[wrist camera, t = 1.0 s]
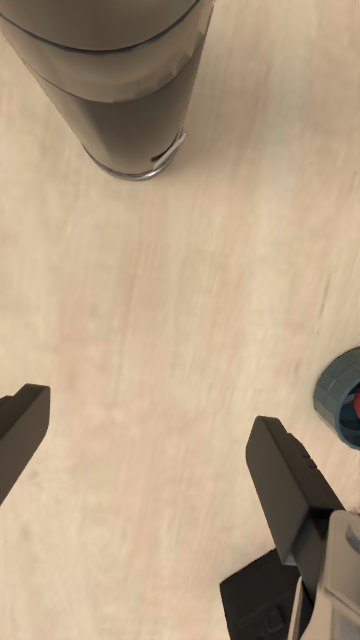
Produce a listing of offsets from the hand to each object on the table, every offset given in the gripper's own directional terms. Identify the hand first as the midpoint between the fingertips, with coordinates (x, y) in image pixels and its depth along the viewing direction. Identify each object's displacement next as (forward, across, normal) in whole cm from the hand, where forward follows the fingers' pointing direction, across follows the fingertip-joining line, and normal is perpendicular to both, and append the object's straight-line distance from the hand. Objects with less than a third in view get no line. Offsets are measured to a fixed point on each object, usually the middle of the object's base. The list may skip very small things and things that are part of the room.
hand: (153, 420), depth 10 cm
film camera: (+21, -26, +46) cm, 57 cm away
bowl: (+21, -28, +8) cm, 36 cm away
